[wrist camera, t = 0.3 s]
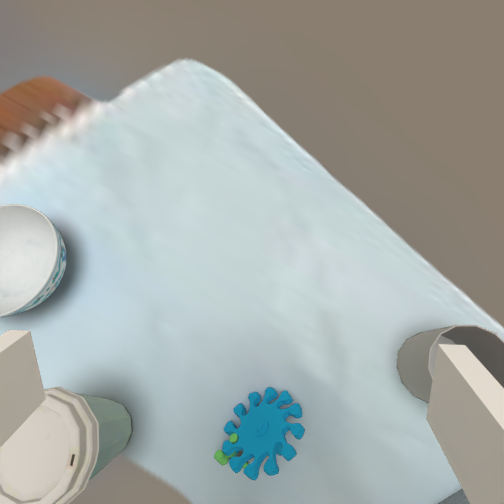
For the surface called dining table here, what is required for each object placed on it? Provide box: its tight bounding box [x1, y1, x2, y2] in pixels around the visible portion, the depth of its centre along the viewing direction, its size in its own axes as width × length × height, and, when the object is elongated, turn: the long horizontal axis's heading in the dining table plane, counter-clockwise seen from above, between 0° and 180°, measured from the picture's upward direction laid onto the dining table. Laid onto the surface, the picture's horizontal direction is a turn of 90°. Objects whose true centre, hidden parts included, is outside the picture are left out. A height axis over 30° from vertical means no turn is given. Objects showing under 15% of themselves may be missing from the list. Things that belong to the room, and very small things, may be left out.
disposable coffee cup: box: [0, 387, 132, 504], centre depth 37 cm, size 11×11×15 cm
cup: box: [397, 325, 504, 403], centre depth 38 cm, size 8×8×10 cm
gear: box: [214, 387, 305, 481], centre depth 40 cm, size 11×6×10 cm
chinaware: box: [0, 204, 66, 317], centre depth 48 cm, size 15×15×8 cm
